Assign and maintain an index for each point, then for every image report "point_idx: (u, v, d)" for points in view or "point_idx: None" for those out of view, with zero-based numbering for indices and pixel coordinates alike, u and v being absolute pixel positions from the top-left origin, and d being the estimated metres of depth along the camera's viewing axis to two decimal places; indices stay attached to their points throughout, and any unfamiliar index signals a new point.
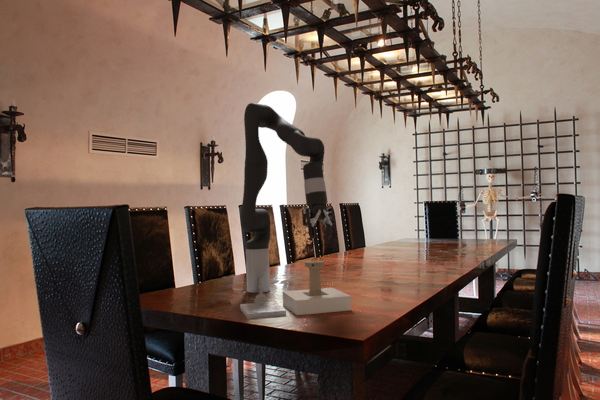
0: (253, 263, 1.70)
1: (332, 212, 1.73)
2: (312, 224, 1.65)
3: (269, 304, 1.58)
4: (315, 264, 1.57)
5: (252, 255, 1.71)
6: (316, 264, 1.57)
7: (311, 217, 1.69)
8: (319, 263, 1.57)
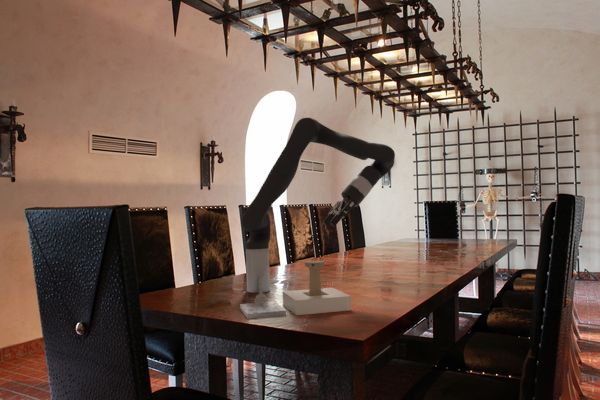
0: (253, 263, 1.70)
1: None
2: (343, 216, 1.67)
3: (269, 304, 1.58)
4: (315, 264, 1.57)
5: (252, 255, 1.71)
6: (316, 264, 1.57)
7: None
8: (319, 263, 1.57)
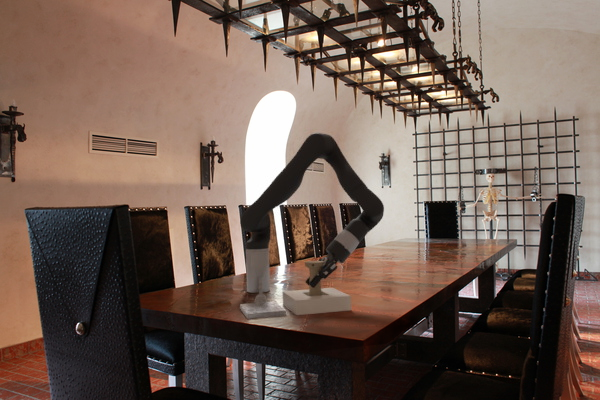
0: (253, 263, 1.70)
1: None
2: (323, 277, 1.57)
3: (269, 304, 1.58)
4: (315, 264, 1.57)
5: (252, 255, 1.71)
6: (316, 264, 1.57)
7: None
8: (319, 263, 1.57)
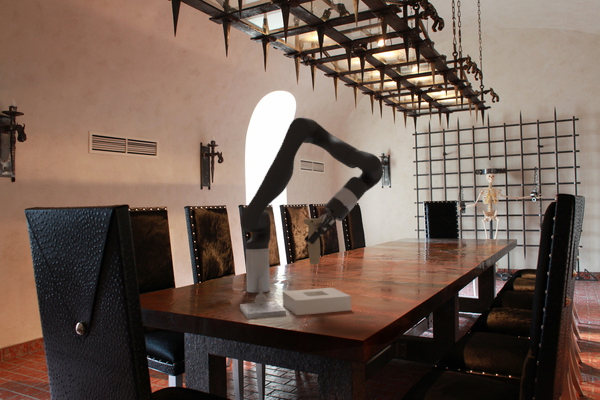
0: (253, 263, 1.70)
1: None
2: (322, 234, 1.57)
3: (269, 304, 1.58)
4: (314, 220, 1.57)
5: (252, 255, 1.71)
6: (315, 220, 1.57)
7: None
8: (318, 219, 1.57)
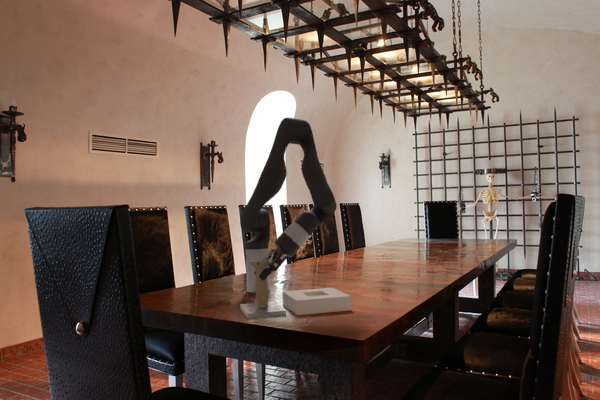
0: None
1: None
2: None
3: (269, 304, 1.58)
4: (260, 263, 1.51)
5: (252, 255, 1.71)
6: (262, 262, 1.51)
7: None
8: (264, 261, 1.51)
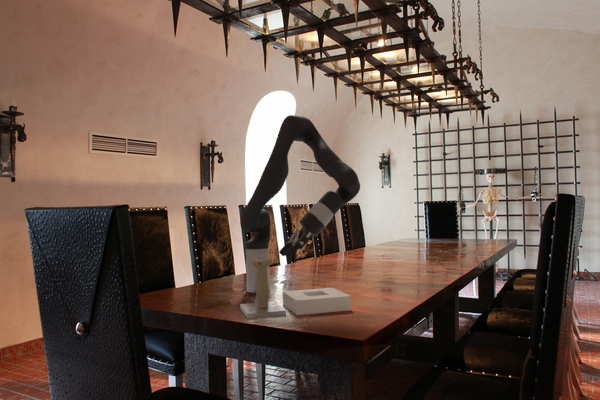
0: None
1: None
2: None
3: (269, 304, 1.58)
4: (261, 263, 1.51)
5: (252, 255, 1.71)
6: (263, 263, 1.51)
7: None
8: (266, 262, 1.51)
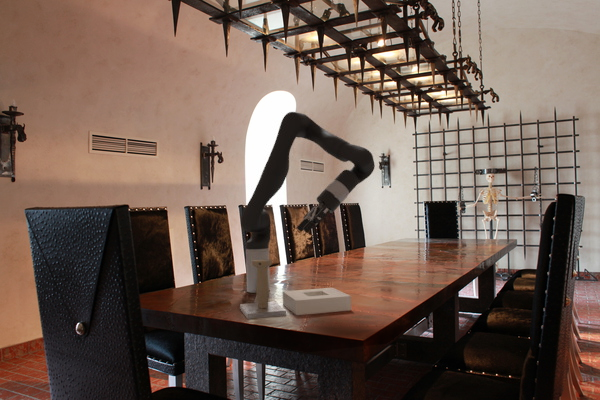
0: None
1: None
2: (317, 223, 1.59)
3: (269, 304, 1.58)
4: (262, 263, 1.51)
5: (252, 255, 1.71)
6: (263, 263, 1.51)
7: None
8: (266, 262, 1.51)
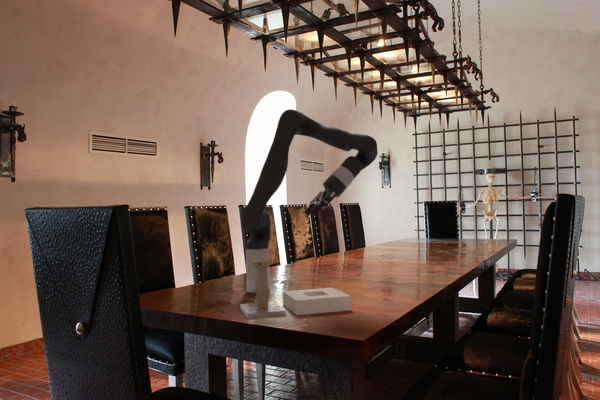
0: None
1: None
2: (324, 206, 1.66)
3: (269, 304, 1.58)
4: (261, 263, 1.51)
5: (252, 255, 1.71)
6: (263, 263, 1.51)
7: None
8: (266, 262, 1.51)
